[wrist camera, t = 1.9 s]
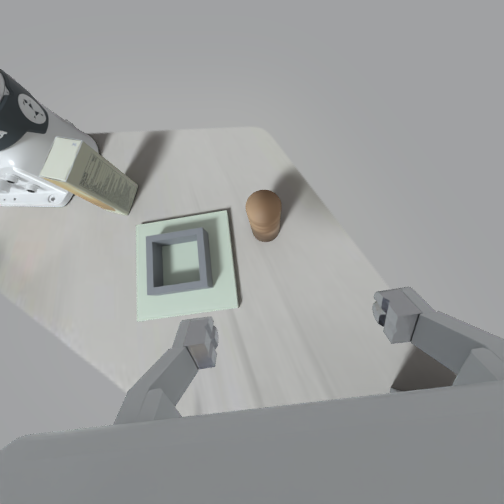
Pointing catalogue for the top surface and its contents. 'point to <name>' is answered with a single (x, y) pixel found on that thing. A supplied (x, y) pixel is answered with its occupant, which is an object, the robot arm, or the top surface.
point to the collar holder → (185, 266)
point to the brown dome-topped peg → (264, 214)
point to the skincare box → (88, 175)
